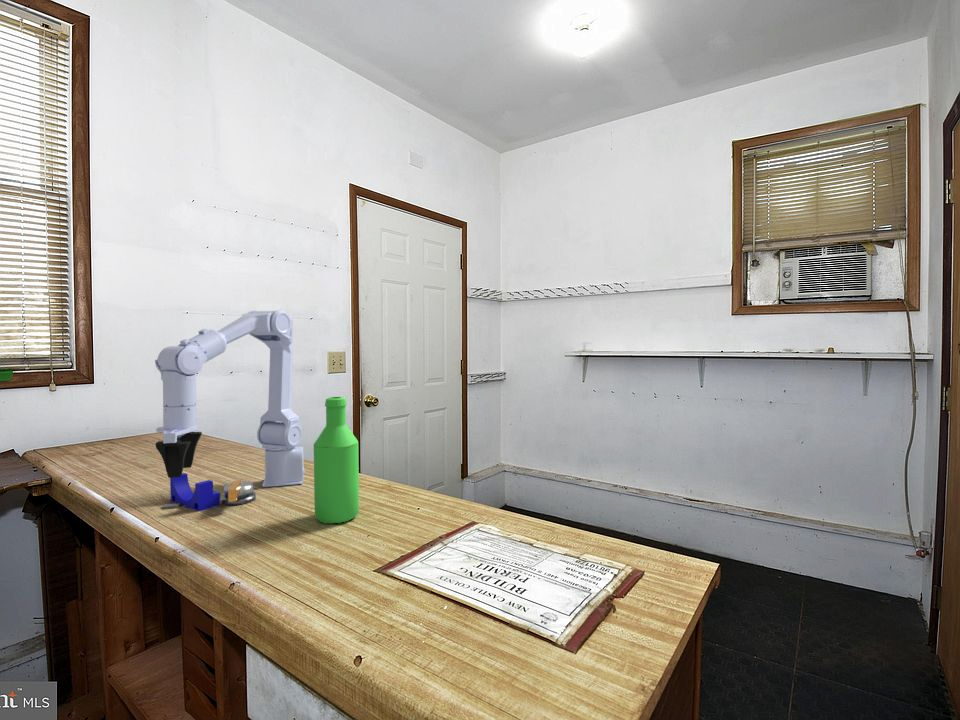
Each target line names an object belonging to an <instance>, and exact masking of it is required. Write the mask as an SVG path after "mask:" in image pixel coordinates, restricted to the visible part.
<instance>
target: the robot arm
mask: <svg viewBox="0 0 960 720" xmlns="http://www.w3.org/2000/svg"><path fill="white" fill-rule="evenodd" d="M197 333H198V334H197V335H195V336H193V337H191V338H188V339H182V340H180V341H179V344H178V345H177V346H176V345H175V346H174V345H173V346H172V345H171V346H166V347H164V348H162V349H161V351H160V352H159V353H158V356H157V359H155V360H154V363H155V367H156V369H157V370H158V371H159V373H160V380H161V381H162V425H163V426H158V427H157V428H155V429H156V433H162V437H163V440H162V441H161V440H160V441H159V440H158V441H157V442H155V449H156V450H157V451H158V452H159V454H160V456H161V458H162V460H163V463H164V468H165V471H166V475H167V477H168V478H169V479H170V478H173V477H181V475H182V473H184V472H183V471H184V469H190V468H192V465H193V462H194V458H195V453H196V450H197V449H196V448H197V446H198V443H199V441H200V439H201V437H202V435H203V433H202V431H197V430H198V425H197V374H198V373H200V372H201V370H202V368H203V367H204V364H206V363H207V362H209V361H210V360H213V359H214V358H216V357H218V356H220V355H221V354H223V353H225V352H226V350H227V345H228V344H231V343H232V342H235V341H237V340H239V339H241V338H243V337H244V336H245V337H246V336H247V335H250V336H251V337H253V338H255V339H257V340H258V341H260V342H262V343H264V345H266V347H267V348H269V373H268V375H269V376H268V405H267V406H268V409H267V411H266V412H265V413H264V414H262V415H261V416H260V418H259V419H260V420H259V421H260V422H259V426H258V428H257V431H256V437H257V441H258V443H259V444H261V446H262V449H264V476H265V477H264V480H263V482H262V485H261V487H262V488H272V487H281V486H293V485H302V484H303V483H304V476H305V474H306V471H305V467H304V447H303V446H298V445H299V444H300V442H301V440H302V438H303V429H302V427H301V423H300V422H301V420H300V419H301V418H300V417H299V416H298V415H297V414H296V413H295V412H294V411H293V410H292V393H293V392H292V389H293V386H292V385H293V360H294V358H293V356H294V340H293V337H294V336H293V334H294V321H293V319H292V317H291V316H290V315H289V314H288V312H286V311H284V310H282V309H280V310H261V311H260V310H259V311H258V310H250V311H249V312H246V313H243V314H242V315H241V316H240V317H239V318H237V319H236V320H234V321H231V322H230V323H228V324H227V325H225V326H223V327H222V328H220V329H218V330H214V329H205V328H204V329H200V330H198V332H197Z"/></svg>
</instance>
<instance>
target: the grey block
mask: <svg viewBox="0 0 960 720" xmlns="http://www.w3.org/2000/svg"><path fill="white" fill-rule="evenodd" d="M180 506H181V505H180V503H174V502H171V503H164V504H163V505H162V507H161V509H162V510H164V509H166V510H167V509H175V508H179V507H180Z"/></svg>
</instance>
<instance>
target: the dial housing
mask: <svg viewBox="0 0 960 720" xmlns="http://www.w3.org/2000/svg"><path fill="white" fill-rule="evenodd" d="M256 495H257V493H256V492H254V491H253V494H252V495H251V496H248V497H245V498H239V499H237V501H232V502H228V499H227V498H224V495H223V496H222V497H221V504H222V505H224V506H229V507H231V506H241V505H247V504H250V503H252V502H254V501H255V500H256V499H257V497H256Z"/></svg>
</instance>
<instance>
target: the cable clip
mask: <svg viewBox="0 0 960 720" xmlns="http://www.w3.org/2000/svg"><path fill="white" fill-rule="evenodd" d="M169 483H170V485H169V487H170V502H171V503H180V505H179V506H184V507H187V508H189V509H192V510H195V511H197V512H202V511H205V510H208V509H212V508H215V507H216V508H217V507H218V506H221V493H220V492H219V491H216V490H214V481H213V480H210V479H208V480H204V481H200V482H196V483H194V484H195V485H194V491H193V490H192V488H191V486H190V483H189V479H188V473H185V472H182V475H181V477H173V478H169Z"/></svg>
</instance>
